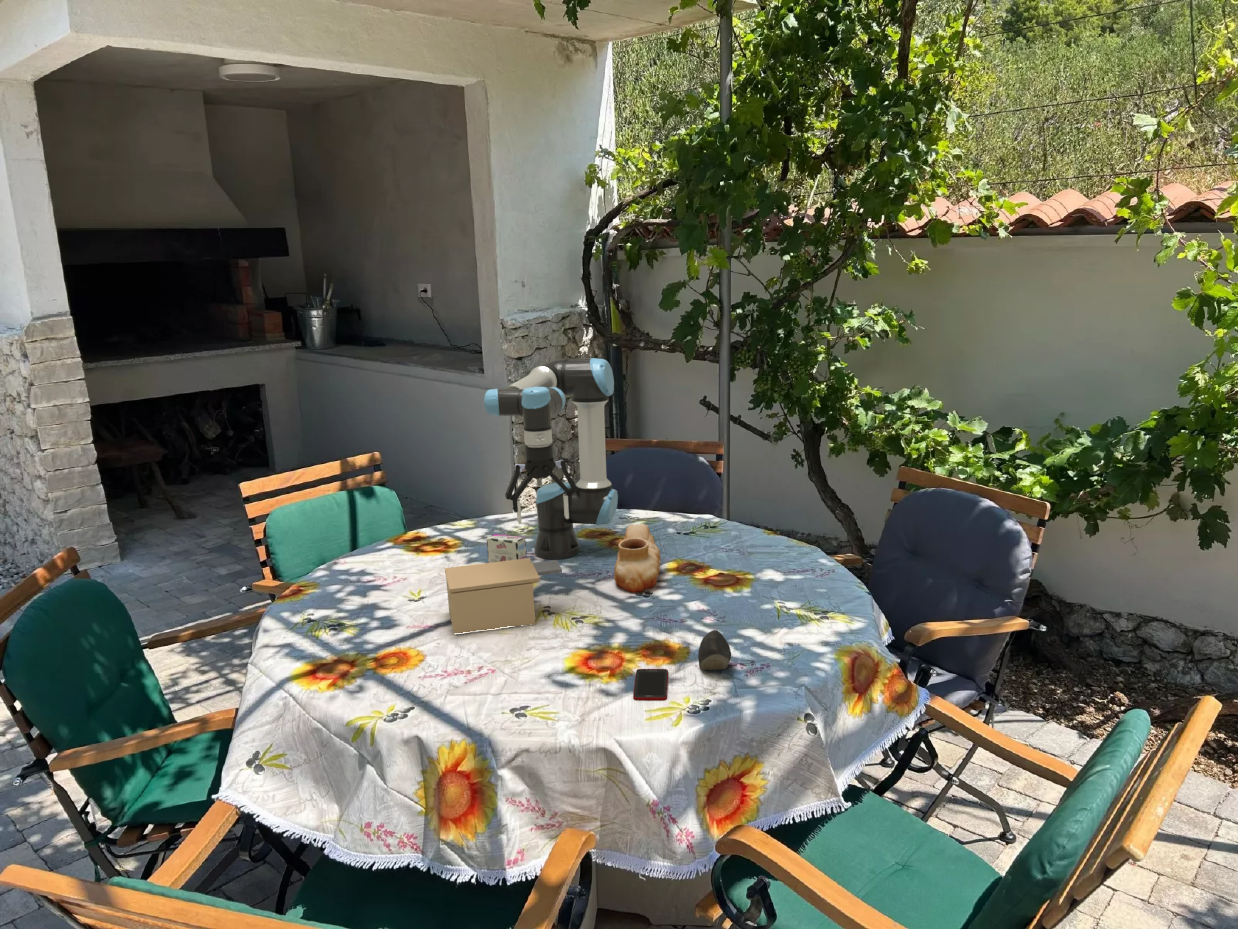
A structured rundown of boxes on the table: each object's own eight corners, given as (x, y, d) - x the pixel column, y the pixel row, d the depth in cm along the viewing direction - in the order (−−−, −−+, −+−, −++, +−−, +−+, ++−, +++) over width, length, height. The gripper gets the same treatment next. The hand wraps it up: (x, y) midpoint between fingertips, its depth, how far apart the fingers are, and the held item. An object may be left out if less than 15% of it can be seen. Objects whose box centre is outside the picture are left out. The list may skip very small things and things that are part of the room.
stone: (702, 675, 228) (694, 656, 220) (698, 648, 233) (691, 628, 225) (734, 670, 226) (728, 650, 219) (730, 642, 231) (724, 622, 224)
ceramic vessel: (663, 563, 299) (661, 518, 296) (658, 594, 274) (657, 546, 270) (619, 563, 301) (618, 519, 297) (611, 594, 275) (609, 546, 272)
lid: (553, 558, 271) (553, 554, 271) (565, 578, 255) (565, 574, 255) (444, 571, 264) (444, 568, 264) (449, 592, 248) (449, 589, 248)
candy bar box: (529, 588, 282) (526, 537, 278) (520, 594, 278) (516, 542, 274) (499, 583, 288) (495, 532, 284) (489, 589, 283) (485, 537, 279)
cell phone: (668, 672, 226) (668, 668, 226) (666, 702, 212) (666, 698, 212) (636, 672, 227) (636, 668, 227) (632, 701, 213) (632, 698, 212)
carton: (525, 602, 272) (523, 563, 269) (535, 624, 256) (532, 583, 253) (449, 612, 267) (445, 572, 264) (454, 635, 251) (450, 593, 248)
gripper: (494, 451, 248) (500, 528, 253) (586, 443, 253) (589, 518, 258) (491, 445, 255) (497, 521, 260) (580, 437, 260) (583, 511, 265)
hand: (543, 520), depth 259 cm, fingers open, 12 cm apart
